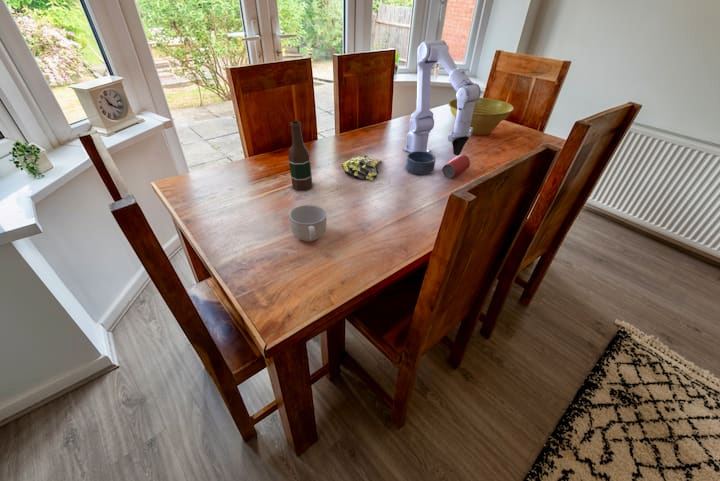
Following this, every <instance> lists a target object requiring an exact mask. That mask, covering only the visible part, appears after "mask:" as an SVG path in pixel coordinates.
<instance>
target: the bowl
mask: <svg viewBox="0 0 720 481" xmlns="http://www.w3.org/2000/svg"><path fill="white" fill-rule="evenodd" d="M436 160H437V159H436V155H434V154H433V153H431V152H422V151H416V152H408V153H407V154H406V160H405V169H406V171H408V172H409V173H412V174H415V175H429V174H431V173H433V172H434V171H435V166H436Z"/></svg>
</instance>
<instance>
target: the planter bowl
mask: <svg viewBox="0 0 720 481" xmlns="http://www.w3.org/2000/svg"><path fill="white" fill-rule="evenodd" d="M447 105H448V106H449V108H450V112H451V114H452V116H454V118H456V114H457V109H458V107H457V98H454V99H451V100H450V101H448V102H447ZM514 110H515V107H514V106H513V105H512V104H511V103H508V102H506V101H503V100H500V99H494V98H488V97H487V98H486V97H479V99H478V100H477V101H475V106H474V110H473V115H472V120H471V124H470V127H472V128H473V130H472V133H471V136H472V135H473V136H485V135H488V134H489V133H492V132H493V131H495V129H496V128H497V127H498V125H499V124H500V123H501V122H502V121H505V120H506V119H507V118H508V117H509V116H510V115H511V113H513V111H514Z"/></svg>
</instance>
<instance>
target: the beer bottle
mask: <svg viewBox="0 0 720 481" xmlns="http://www.w3.org/2000/svg"><path fill="white" fill-rule="evenodd" d="M289 127H290V129H291V130H290V131H291V147H290V148H289V153H288V163H289V171H290V178H291V186H292V188H293V190H296V191H299V192H301V191H308V190H310V189H312V187H313V175H312V174H313V173H312V166H311V164H312V163H311V157H310V155H311V154H310V151H309V149H308V148H307V147H306V145H305V143H304V140H303V134H302V129H301V128H302V123H301V122H300V121H298V120H293V121H290V124H289Z"/></svg>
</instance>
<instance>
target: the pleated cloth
mask: <svg viewBox="0 0 720 481" xmlns="http://www.w3.org/2000/svg"><path fill="white" fill-rule="evenodd" d="M381 163H382V159H378V158H373V157H372V156H368V155H366V154H365V153H364V154H363V155H360V156H354V157H351V158H350V159H349V160H346V161H344V162H342V161H341V167H342V169H343V172H344V174H346V175H349V176H351V177H352V178H356V179H359V180H369V181H371V182H372V181H374V178H377V176H378V174H380V173H379V170H378V167H379V165H380V164H381Z"/></svg>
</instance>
